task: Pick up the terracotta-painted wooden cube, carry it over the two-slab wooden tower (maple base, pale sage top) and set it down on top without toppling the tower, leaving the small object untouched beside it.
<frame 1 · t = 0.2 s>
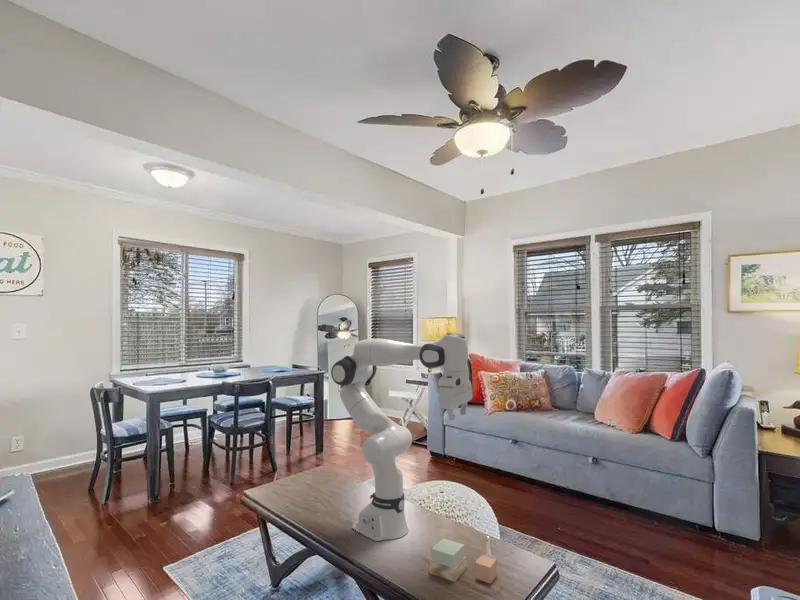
hand: (457, 417, 156), 47 cm above the table, fingers open, 8 cm apart
stand: (486, 561, 149), on the table
terracotta block: (486, 577, 139), on the table
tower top: (448, 559, 144), point 4 cm above the table, touching tower base
tower base: (448, 571, 143), on the table, touching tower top
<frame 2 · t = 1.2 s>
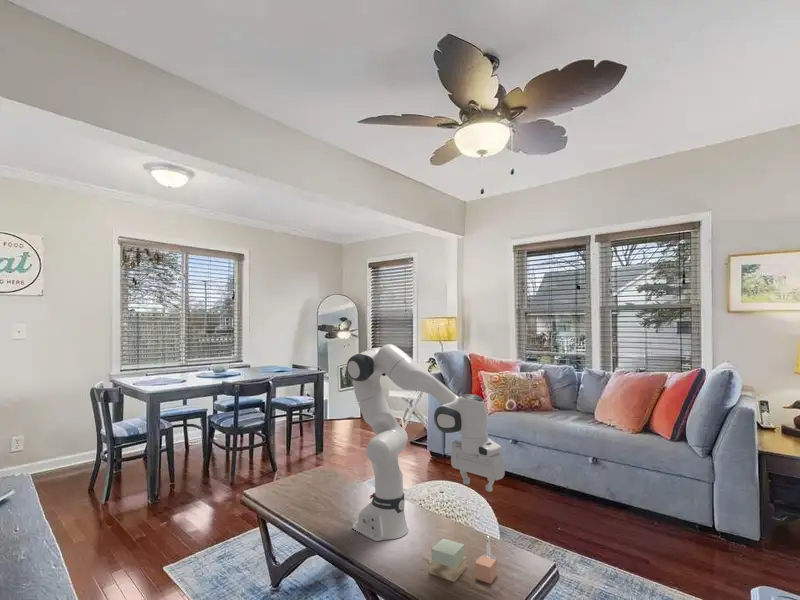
hand: (477, 487, 144), 27 cm above the table, fingers open, 8 cm apart
nothing on the table moved.
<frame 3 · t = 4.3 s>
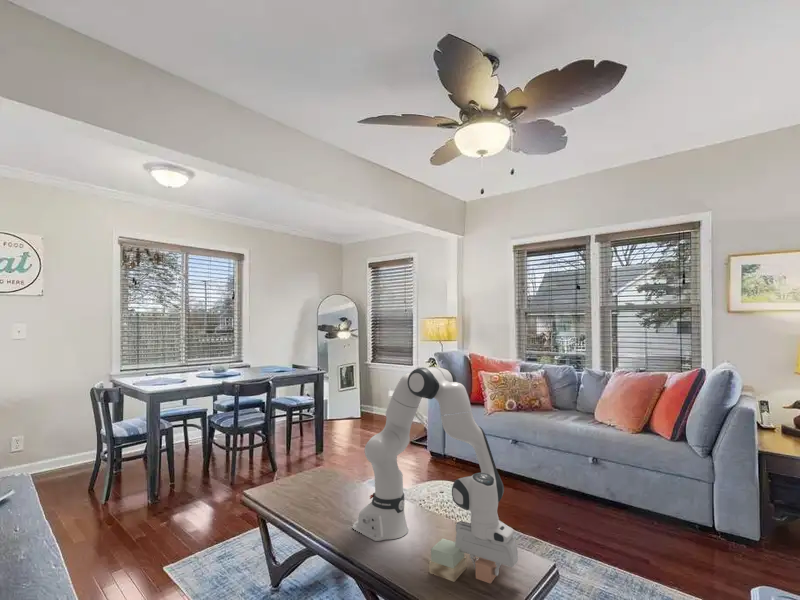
hand: (486, 571, 139), 2 cm above the table, fingers closed on terracotta block, 5 cm apart
terracotta block: (486, 577, 139), on the table, touching gripper
everything else where it was.
when the fingers open (11 cm above the table, at t = 9.6 s): terracotta block drops 2 cm, point 8 cm above the table.
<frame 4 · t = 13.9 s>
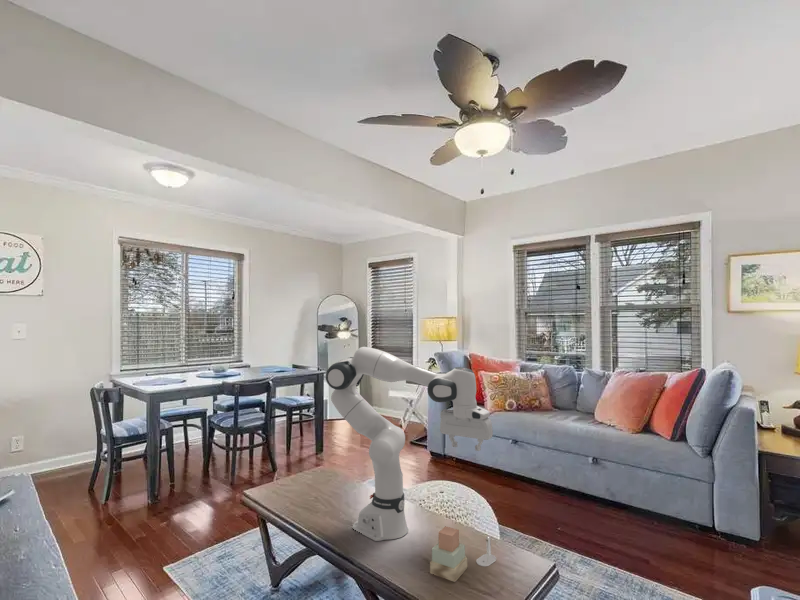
hand: (466, 448, 163), 34 cm above the table, fingers open, 8 cm apart
terracotta block: (449, 546, 144), point 8 cm above the table
everything else where it was.
at the end: terracotta block 0.4 cm from the tower base (horizontally); terracotta block point 7.6 cm above the table; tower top tilted 0° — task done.
